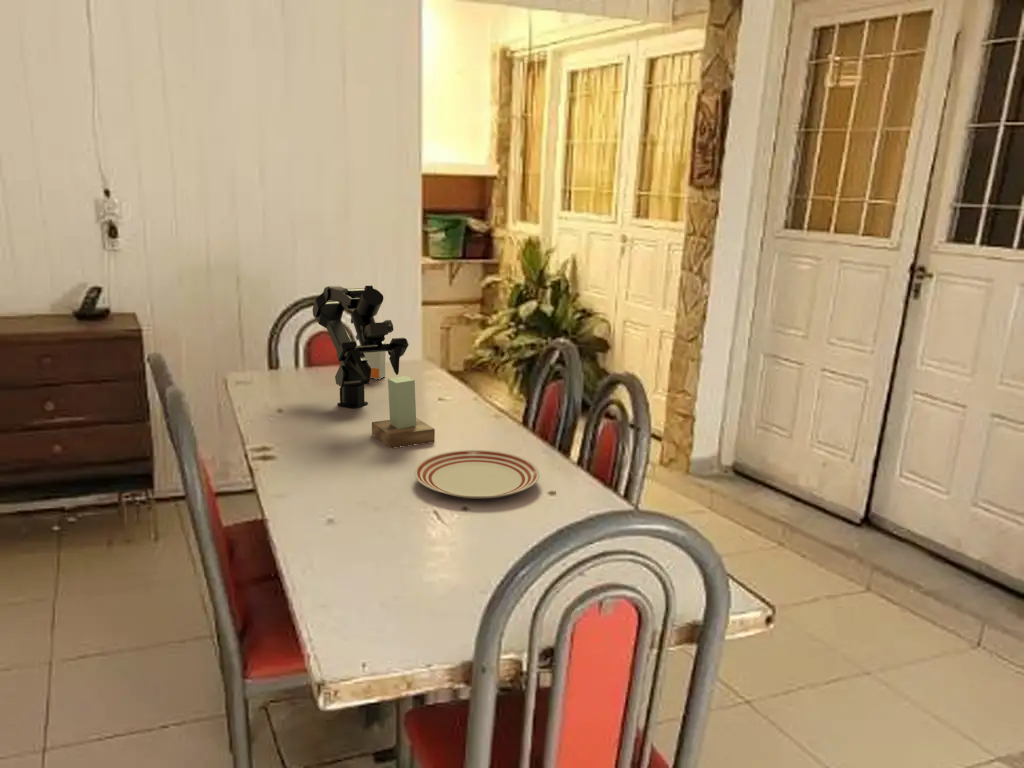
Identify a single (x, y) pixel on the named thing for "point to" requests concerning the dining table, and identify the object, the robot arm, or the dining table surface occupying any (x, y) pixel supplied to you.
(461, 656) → the dining table surface
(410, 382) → the sage block
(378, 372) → the skincare box
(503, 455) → the dinner plate
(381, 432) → the walnut block
